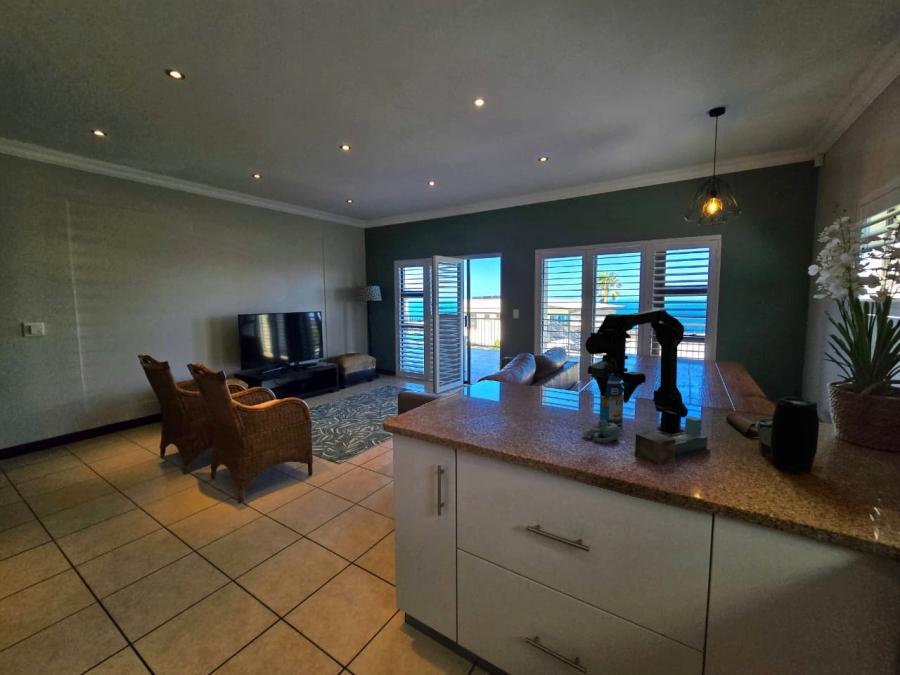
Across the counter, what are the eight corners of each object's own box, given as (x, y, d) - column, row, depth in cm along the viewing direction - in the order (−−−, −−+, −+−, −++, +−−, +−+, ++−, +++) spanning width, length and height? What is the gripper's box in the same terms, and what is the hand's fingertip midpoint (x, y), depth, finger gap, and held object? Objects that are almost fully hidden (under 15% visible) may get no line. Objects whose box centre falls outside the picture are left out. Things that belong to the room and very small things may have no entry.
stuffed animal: (578, 417, 129) (614, 413, 127) (582, 436, 130) (617, 432, 127) (583, 427, 119) (622, 423, 116) (587, 448, 119) (626, 444, 117)
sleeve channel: (684, 442, 119) (685, 429, 118) (710, 452, 112) (710, 438, 111) (650, 450, 113) (651, 437, 112) (675, 461, 105) (675, 446, 105)
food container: (793, 451, 112) (796, 419, 111) (805, 459, 106) (808, 426, 105) (745, 446, 116) (748, 416, 115) (754, 453, 110) (757, 422, 109)
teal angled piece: (689, 441, 116) (690, 416, 116) (700, 445, 113) (702, 419, 112) (661, 448, 111) (663, 421, 111) (672, 452, 108) (674, 425, 107)
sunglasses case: (776, 440, 121) (765, 422, 121) (753, 448, 123) (742, 430, 124) (751, 423, 138) (741, 407, 138) (732, 430, 140) (722, 415, 141)
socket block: (650, 450, 113) (651, 430, 112) (675, 461, 105) (676, 439, 105) (634, 454, 110) (635, 433, 109) (658, 465, 103) (659, 443, 102)
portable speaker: (823, 476, 96) (830, 404, 94) (786, 475, 96) (792, 404, 95) (795, 462, 104) (801, 396, 102) (760, 461, 105) (766, 395, 103)
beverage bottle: (601, 417, 145) (603, 369, 144) (624, 421, 140) (626, 371, 139) (596, 423, 139) (598, 372, 137) (620, 427, 134) (622, 374, 132)
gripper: (575, 350, 122) (574, 395, 124) (621, 358, 105) (618, 410, 107) (600, 348, 127) (599, 392, 128) (647, 355, 110) (645, 405, 111)
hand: (613, 399), depth 118 cm, fingers open, 9 cm apart
